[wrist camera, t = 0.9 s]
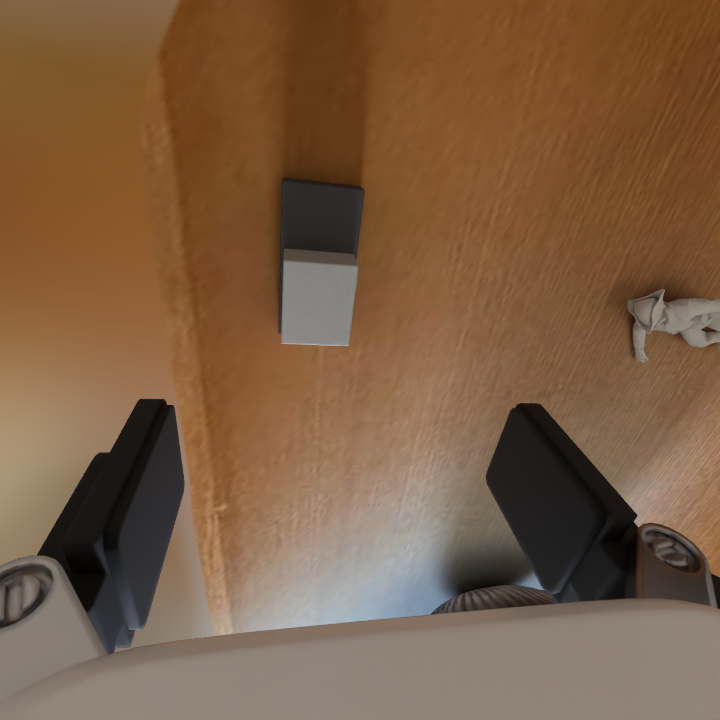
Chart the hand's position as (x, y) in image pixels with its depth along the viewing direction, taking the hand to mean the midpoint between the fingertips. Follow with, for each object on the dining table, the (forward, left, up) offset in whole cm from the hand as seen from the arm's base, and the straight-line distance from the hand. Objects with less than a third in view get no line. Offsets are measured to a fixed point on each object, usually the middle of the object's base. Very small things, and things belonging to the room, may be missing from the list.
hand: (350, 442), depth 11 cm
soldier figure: (+15, +23, -16) cm, 32 cm away
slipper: (0, 0, -16) cm, 16 cm away
